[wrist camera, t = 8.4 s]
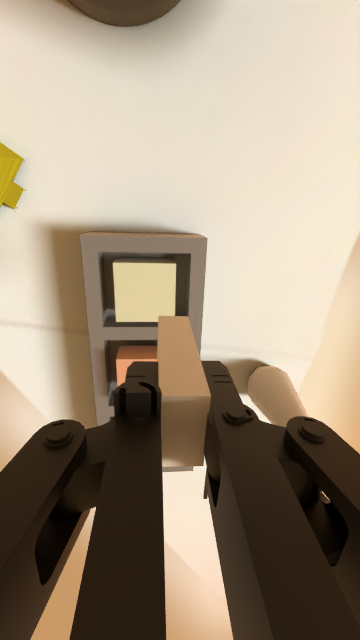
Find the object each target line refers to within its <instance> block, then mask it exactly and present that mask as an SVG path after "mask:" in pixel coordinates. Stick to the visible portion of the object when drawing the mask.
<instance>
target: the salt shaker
mask: <svg viewBox="0 0 360 640" xmlns="http://www.w3.org/2000/svg"><path fill="white" fill-rule="evenodd" d="M248 395H249V397H250V398H251V400H252V402H253V403H254V404H255V405H256V406H257V407H258V409H259V410H260V411H261V412H262V413H263V414H264V415H265V416H266V417H267V418H268V420H269V421H270V422H271V423H272V424H273V425H278V426H282V427H286V425H287V422H288V421H289V419H291V418H293V417H296V416H305V417H308V415H307V413H306V411H305V409H304V407H303V405H302V403H301V401H300V399H299V396H298V394H297V392H296V390H295V388H294V386H293V384H292V382H291V380H290V378H289V376H288V375H287V373H285V372H284V371H282V370H280V369H279V368H276V367H273V366H270V365H269V366H261V367H257V368H256V369H255V370H254V371H253V373H252V374H251V375H250V376H249V380H248Z"/></svg>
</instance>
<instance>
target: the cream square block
mask: <svg viewBox="0 0 360 640" xmlns="http://www.w3.org/2000/svg"><path fill="white" fill-rule="evenodd" d="M113 274H114V293H115V312H116V322H158V316H175V291H176V262H175V260H174V259H157V258H117V259H116V260H115V261H114V262H113Z"/></svg>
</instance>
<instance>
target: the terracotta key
mask: <svg viewBox="0 0 360 640" xmlns="http://www.w3.org/2000/svg"><path fill="white" fill-rule="evenodd" d="M133 361H157V346H120V347H119V351H118V354H117V358H116V367H117V385H118V386H119V385H121V384H122V383H124V382H125V377H126V372H127V368H128V367H129V366H130V365H131V364H132V362H133Z"/></svg>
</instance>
